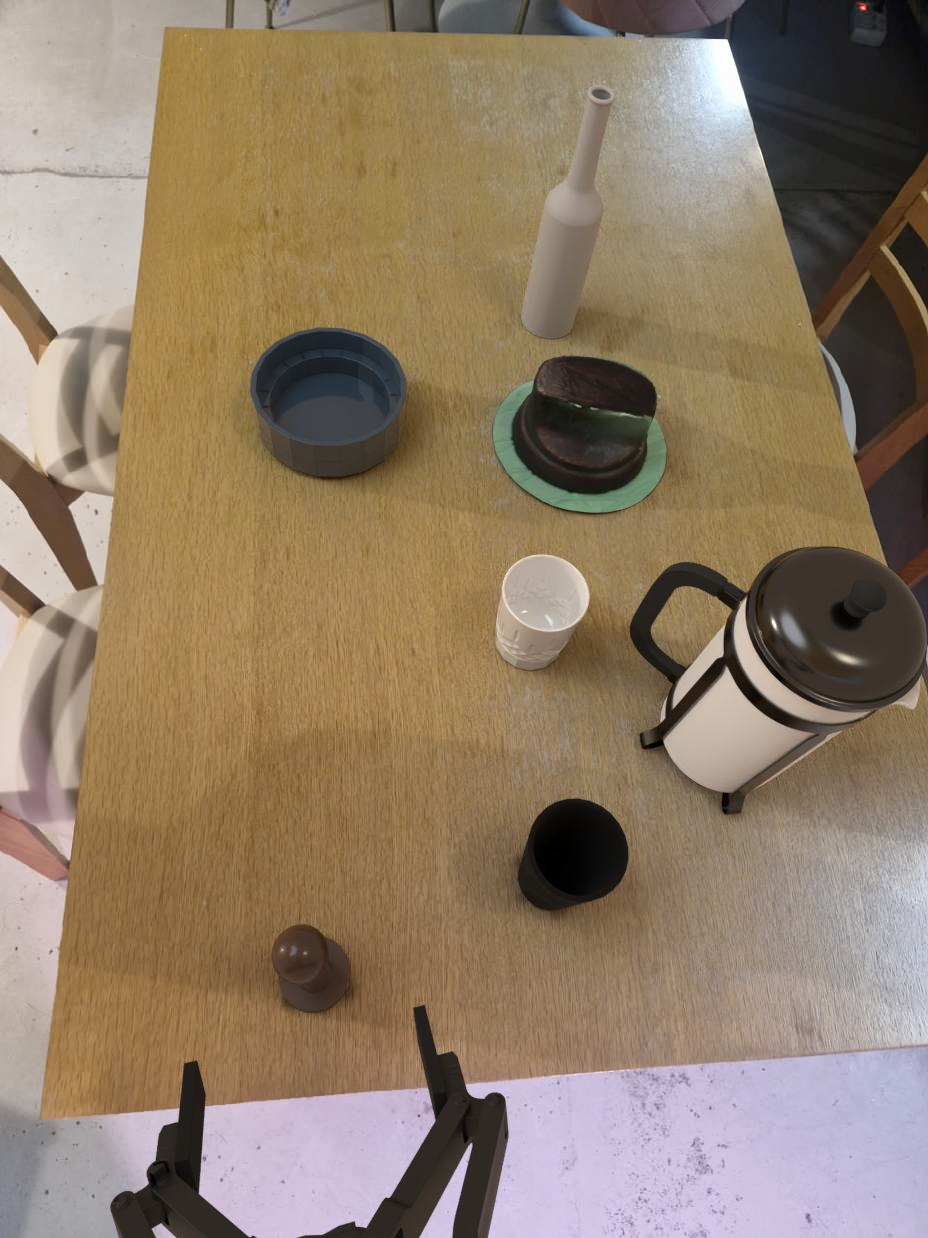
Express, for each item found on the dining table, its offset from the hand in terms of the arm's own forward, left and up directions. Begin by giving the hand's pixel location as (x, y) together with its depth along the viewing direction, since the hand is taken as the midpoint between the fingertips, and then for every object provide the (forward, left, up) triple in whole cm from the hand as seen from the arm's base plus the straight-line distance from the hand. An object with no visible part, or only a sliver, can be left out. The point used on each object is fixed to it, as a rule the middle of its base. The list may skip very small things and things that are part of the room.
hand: (310, 1050), depth 51 cm
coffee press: (+35, +26, -17) cm, 47 cm away
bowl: (-1, +63, -17) cm, 65 cm away
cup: (+19, +13, -17) cm, 29 cm away
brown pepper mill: (-1, +6, -17) cm, 18 cm away
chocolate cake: (+27, +61, -17) cm, 69 cm away
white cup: (+19, +36, -17) cm, 44 cm away
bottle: (+25, +80, -17) cm, 85 cm away
